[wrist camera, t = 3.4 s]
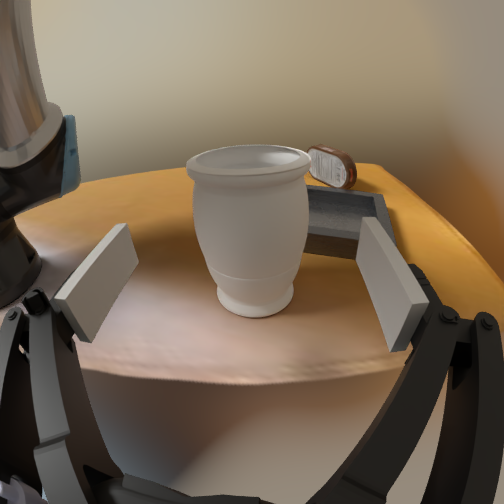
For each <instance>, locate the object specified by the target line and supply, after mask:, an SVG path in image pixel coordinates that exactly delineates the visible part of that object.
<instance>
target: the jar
mask: <svg viewBox="0 0 504 504" xmlns="http://www.w3.org/2000/svg"><path fill="white" fill-rule="evenodd" d="M310 160H311V157H310V155H309V154H307V153H305V152H303V151H301V150H298V149H294V148H290V147H284V146H275V145H239V146H230V147H224V148H219V149H214V150H210V151H207V152H204V153H201V154H198V155H196V156H194V157H192V158H191V159H190V160H188V161H187V163H186V166H187V167H186V170H187V174H188V176H189V177H190V178H191V179H193V180H194V181H195V184H194V189H193V218H194V225H195V231H196V235H197V239H198V242H199V245H200V248H201V250H202V253H203V255H204V257H205V261H206V264H207V267H208V269H209V272H210V274H211V276H212V278H213V279H214V281H215V282H216V284H217V285H218V286H217V296H218V299H219V301H220V303H221V304H222V305H223V306H224V307H225V308H226V309H227V310H229V311H230V312H232V313H235V314H237V315H240V316H244V317H265V316H269V315H272V314H275V313H277V312H279V311H281V310H282V309H284V308H285V307H286V306H287V305H288V304H289V303H290V301H291V299H292V297H293V293H294V288H293V284H292V282H293V280H294V278H295V277H296V274H297V272H298V269H299V266H300V262H301V258H302V253H303V250H304V247H305V243H306V238H307V233H308V224H309V203H308V193H307V188H306V183H305V180H304V175H305V174H306V173H307V172H308V171H309V169H310V166H311V162H310Z"/></svg>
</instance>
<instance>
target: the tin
mask: <svg viewBox="0 0 504 504" xmlns="http://www.w3.org/2000/svg"><path fill="white" fill-rule="evenodd" d="M307 154H309V155H310V157H311V160H310V162H311V166H310V169H309V173H310V174H311V176H312V177H313V178H315V179H316V180H318V181H320V182H322V183H324V184H327V185H329V186H330V187H332V188H339V189H348V188H351V187H352V186H353V185H354V184H355V182H356V178H357V170H356V166H355V163H354V161H353V159H352V158H351V157H350V155H349V154H347V153H346V152H344V151H341V150H338V149H335V148H332V147H329V146H326V145H322V144H320V145H316V146H312V147H310V148H309V149H308V150H307Z"/></svg>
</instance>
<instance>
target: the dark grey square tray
mask: <svg viewBox="0 0 504 504" xmlns="http://www.w3.org/2000/svg"><path fill="white" fill-rule="evenodd" d="M306 188H307V193H308V203H309V224H308V233H307V238H306V243H305V247H304V250H303V252H306V253H313V254H320V255H327V256H334V257H341V258H348V259H355V260H356V255H357V249H358V243H359V237H360V231H361V224H362V217H376V219H377V220H378V221H379V223H380V224H381V226H382V227H383V228H384V230H385V231H386V233H387V234H388V236H389V237H390V239H391V240H392V242H393V243H394V245H395V246H397V245H396V241H395V236H394V232H393V229H392V225H391V221H390V217H389V214H388V210H387V207H386V204H385V200H384V197H383V195H382V194H376V193H369V192H362V191H355V190H347V189H339V188H331V187H322V186H313V185H306Z"/></svg>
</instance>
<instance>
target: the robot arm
mask: <svg viewBox="0 0 504 504" xmlns="http://www.w3.org/2000/svg"><path fill="white" fill-rule="evenodd" d="M80 182H81V175H80V166H79V157H78V147H77V135H76V123H75V117H74V116H73V115H65V116H64V117H63V115H62V112H61V109H60V107H59V106H58V105H56V104H54V103H51V102H47V99H46V95H45V91H44V87H43V83H42V79H41V74H40V69H39V65H38V60H37V54H36V48H35V42H34V34H33V27H32V17H31V1H30V0H0V308H1V307H3V306H5V305H7V304H9V303H11V302H12V301H14V300H15V299H16V298H18V297H19V296H20V295H21V294H22V293H24V292H25V291H26V290H27V289H28V288H29V287H30V285H31V284H32V283H33V282H34V280H35V279H36V278H37V276H38V274H39V272H40V270H41V266H42V262H41V260H40V257H39V255H38V253H37V251H36V250H35V248H34V247H33V246H32V245H31V244H30V243H29V241H28V240H27V239H26V238H25V237H24V235H23V234H22V233H21V232H20V230H19V229H18V227H17V225H16V223H15V220H14V216H16V215H18V214H20V213H23V212H25V211H27V210H30V209H32V208H34V207H37V206H39V205H42V204H44V203H47V202H49V201H52V200H55V199H57V198H61V197H62V196H63V195H65V194H67V193H69V192H72V191H74V190H76V189H77V188H78V186H79V185H80ZM356 262H357V264H358V267H359V269H360V272H361V274H362V277H363V279H364V282H365V284H366V287H367V289H368V292H369V294H370V297H371V300H372V302H373V305H374V308H375V310H376V313H377V316H378V319H379V321H380V324H381V327H382V330H383V333H384V336H385V339H386V342H387V345H388V348H389V351H390V352H397V351H404V350H406V348H407V347H408V345H409V343H410V341H411V344H412V346H413V350H412V352H411V353H410V355H409V357H408V359H407V360H406V362H405V363H404V364H405V366H404V368H403V370H402V372H401V374H400V376H399V378H398V380H397V382H396V383H395V385H394V387H393V389H392V391H391V392H390V394H389V396H388V398H387V399H386V401H385V403H384V404H383V406H382V408H381V409H380V411H379V413H378V414H377V416H376V417H375V419H374V420H373V422H372V424H371V425H370V427H369V428H368V430H367V431H366V432H365V434H364V435H363V437H362V438H361V440H360V441H359V442H358V444H357V445H356V447H355V448H354V449H353V451H352V452H351V453H350V455H349V456H348V457H347V459H346V460H345V461H344V462H343V464H342V465H341V466H340V467H339V469H338V470H337V471H336V472H335V473H334V474H333V476H332V477H331V478H330V479H329V480H328V482H327V483H326V484H325V485H324V486H323V487H322V488H321V489H320V490H319V491H318V492H317V493H316V494H315V495H314V496H312V497H311V498H310V500H308V502H307V503H306V504H385V503H386V496H387V493H388V492H389V490H390V488H391V487H392V485H393V484H394V482H395V481H396V479H397V478H398V476H399V475H400V473H401V471H402V470H403V468H404V466H405V465H406V463H407V461H408V459H409V458H410V456H411V454H412V452H413V451H414V449H415V447H416V445H417V443H418V441H419V439H420V437H421V435H422V433H423V431H424V429H425V427H426V425H427V422H428V420H429V418H430V416H431V413H432V411H433V409H434V406H435V404H436V402H437V399H438V397H439V394H440V391H441V389H442V386H443V383H444V380H445V377H446V374H447V371H448V382H447V393H446V401H445V409H444V415H443V421H442V427H441V432H440V437H439V442H438V447H437V451H436V455H435V459H434V463H433V467H432V471H431V474H430V477H429V480H428V484H427V487H426V489H425V493H424V495H423V498H422V501H421V503H420V504H493V501H494V497H495V493H496V489H497V484H498V480H499V475H500V469H501V463H502V456H503V448H504V358H503V350H502V342H501V336H500V330H499V325H498V322H497V321H496V319H495V318H494V317H493V316H492V315H491V314H489V313H487V312H479V313H478V314H477V315H476V317H475V318H474V320H468V319H461V318H460V316H459V314H458V313H457V312H456V311H455V310H454V309H452V308H451V307H448V306H445V305H443V304H442V302H441V301H440V299H439V297H438V296H437V294H436V292H435V291H434V289H433V287H432V286H431V285H430V282H429V281H428V279H426V276H425V274H424V273H423V271H422V270H421V269H420V268H418V267H417V266H416V265H415V264H407V263H406V262H405V260H404V258H403V257H402V255H401V254H400V252H399V251H398V249H397V248H396V246H395V245H394V243H393V242H392V240H391V239H390V237H389V236H388V234H387V233H386V231H385V230H384V228H383V227H382V226H381V224H380V223H379V221H378V220H377V219H376V217H362V224H361V231H360V237H359V243H358V249H357V255H356ZM138 263H139V261H138V258H137V254H136V251H135V248H134V245H133V242H132V238H131V235H130V231H129V228H128V224H127V223H123V224H116V225H115V226H114V227H113V228H112V229H111V231H110V232H109V233H108V234H107V235H106V236H105V237H104V238H103V239H102V240H101V241H100V243H99V244H98V245H97V246H96V247H95V248H94V249H93V250H92V252H91V253H90V254H89V255H88V256H87V257H86V259H85V260H84V261H83V262H82V263H81V264H80V266H79V267H78V268H77V269H76V270H75V271H73V272H72V273H71V274H70V275H69V277H68V278H67V279H66V281H65V282H64V283H63V284H62V286H61V287H60V288H59V289H58V291H57V292H56V293H55V295H54V296H53V297H52V299H51V300H50V301H49V300H48V298H47V297H46V295H45V293H44V291H43V289H42V288H40V287H39V288H34V289H32V290H30V291H29V292H28V293H26V294H25V296H24V297H23V299H22V303H23V305H24V306H25V308H26V310H27V311H28V314H24V312H23V311H22V309H21V308H20V307H14V308H12V309H11V310H9V311H8V313H7V314H6V315H5V317H4V320H3V323H2V326H1V329H0V504H274V503H271V502H268V501H264V500H261V499H260V498H259V497H246V496H232V495H213V496H199V497H191V496H188V495H186V494H184V493H181V492H179V491H176V490H174V489H171V488H168V487H166V486H163V485H160V484H158V483H155V482H153V481H149V480H145V479H142V478H139V477H135V476H132V475H128V474H126V473H125V475H124V474H123V473H122V471H121V470H120V468H119V467H118V466H117V465H116V464H115V463H114V462H113V460H112V459H111V457H110V455H109V453H108V450H107V448H106V446H105V443H104V441H103V438H102V436H101V433H100V430H99V428H98V425H97V422H96V420H95V416H94V413H93V410H92V408H91V404H90V401H89V398H88V395H87V391H86V388H85V384H84V380H83V376H82V373H81V368H80V364H79V360H78V355H77V350H76V346H75V342H74V340H73V338H72V336H73V335H74V333H75V334H76V335H77V337H78V338H79V340H80V341H83V342H88V343H92V341H93V340H94V338H95V336H96V334H97V332H98V330H99V328H100V327H101V325H102V323H103V321H104V319H105V318H106V316H107V314H108V312H109V311H110V309H111V307H112V305H113V304H114V302H115V300H116V299H117V297H118V295H119V294H120V292H121V290H122V289H123V287H124V285H125V284H126V282H127V280H128V279H129V277H130V276H131V274H132V272H133V271H134V269H135V268H136V266H137V265H138ZM19 344H20V345H21V346H22V348H23V349H24V353H21V351H20V350H19ZM42 486H43V488H44V491H45V494H46V497H47V500H48V502H47V501H46V500H44V499H42Z"/></svg>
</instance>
